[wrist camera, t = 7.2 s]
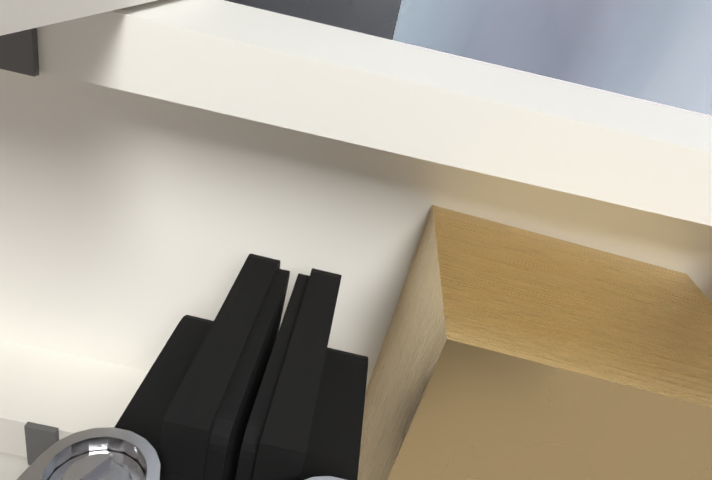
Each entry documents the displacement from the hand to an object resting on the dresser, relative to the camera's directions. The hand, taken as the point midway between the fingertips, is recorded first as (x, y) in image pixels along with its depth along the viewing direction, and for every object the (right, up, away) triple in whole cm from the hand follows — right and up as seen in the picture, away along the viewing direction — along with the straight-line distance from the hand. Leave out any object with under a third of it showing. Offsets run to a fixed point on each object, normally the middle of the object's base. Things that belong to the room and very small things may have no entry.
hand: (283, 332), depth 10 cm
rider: (+4, 0, +2) cm, 5 cm away
